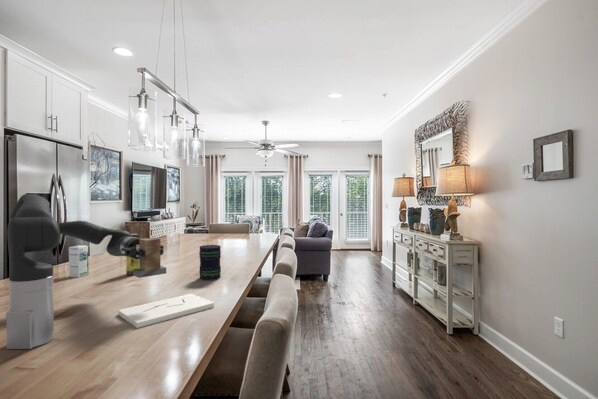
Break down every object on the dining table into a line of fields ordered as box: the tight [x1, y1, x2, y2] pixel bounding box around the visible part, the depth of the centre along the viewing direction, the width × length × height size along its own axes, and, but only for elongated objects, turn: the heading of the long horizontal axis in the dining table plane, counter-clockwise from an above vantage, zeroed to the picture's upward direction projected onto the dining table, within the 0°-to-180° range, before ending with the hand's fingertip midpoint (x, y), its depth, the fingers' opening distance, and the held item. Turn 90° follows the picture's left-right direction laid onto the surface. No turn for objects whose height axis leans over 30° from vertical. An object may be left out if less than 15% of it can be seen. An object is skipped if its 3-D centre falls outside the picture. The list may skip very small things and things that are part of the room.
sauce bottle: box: [125, 233, 140, 276], centre depth 168 cm, size 6×6×20 cm
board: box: [117, 293, 215, 329], centre depth 114 cm, size 26×16×2 cm, turn 136°
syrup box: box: [68, 244, 90, 278], centre depth 164 cm, size 6×6×14 cm
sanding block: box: [132, 237, 167, 279], centre depth 114 cm, size 9×5×12 cm, turn 136°
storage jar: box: [198, 244, 222, 281], centre depth 160 cm, size 10×10×15 cm
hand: (153, 253), depth 113 cm, fingers closed on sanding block, 5 cm apart
